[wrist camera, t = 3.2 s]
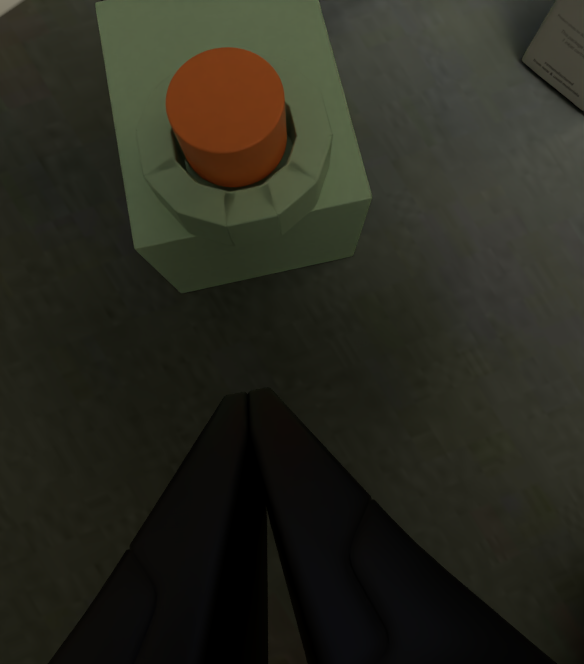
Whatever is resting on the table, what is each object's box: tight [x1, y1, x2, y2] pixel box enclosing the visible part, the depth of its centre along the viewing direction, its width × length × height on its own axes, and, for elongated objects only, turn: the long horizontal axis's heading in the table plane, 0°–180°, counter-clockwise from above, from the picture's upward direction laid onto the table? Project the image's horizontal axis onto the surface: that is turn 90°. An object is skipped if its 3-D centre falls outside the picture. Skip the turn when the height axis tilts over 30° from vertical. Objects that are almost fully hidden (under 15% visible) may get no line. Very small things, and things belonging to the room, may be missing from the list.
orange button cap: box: [165, 47, 287, 187], centre depth 14 cm, size 4×4×2 cm
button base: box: [95, 0, 372, 293], centre depth 19 cm, size 12×9×8 cm
